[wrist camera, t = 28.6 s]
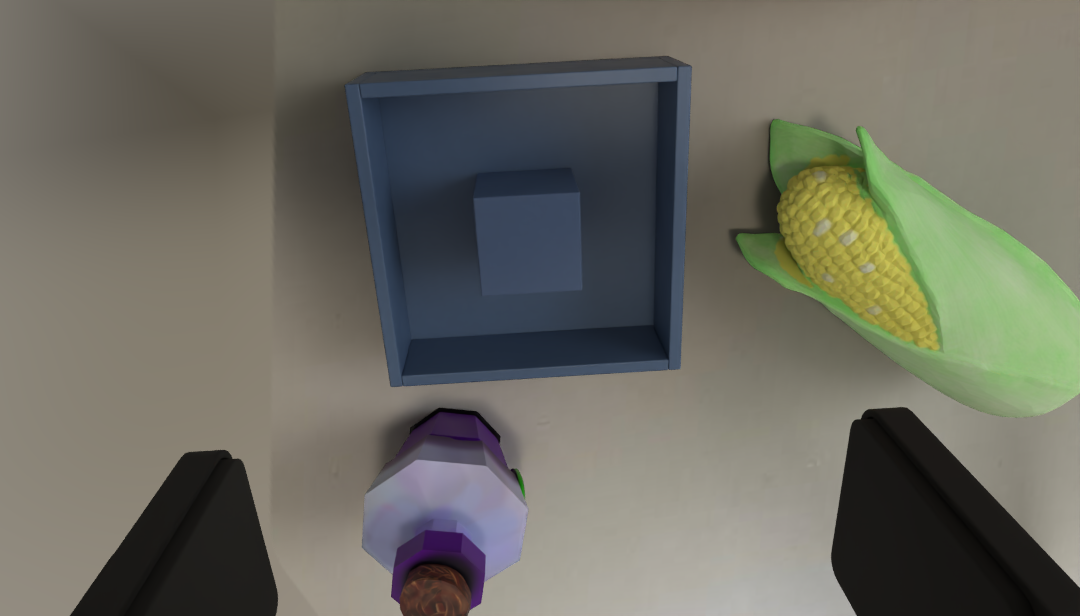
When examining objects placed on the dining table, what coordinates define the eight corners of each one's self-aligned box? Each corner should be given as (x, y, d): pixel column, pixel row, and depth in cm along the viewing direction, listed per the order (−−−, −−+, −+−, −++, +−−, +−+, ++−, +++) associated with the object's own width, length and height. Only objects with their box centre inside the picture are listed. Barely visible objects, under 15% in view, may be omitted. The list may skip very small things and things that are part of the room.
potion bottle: (543, 488, 43) (555, 657, 32) (407, 520, 44) (374, 696, 33) (505, 367, 40) (504, 511, 29) (357, 403, 40) (302, 558, 29)
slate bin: (403, 344, 39) (390, 387, 35) (364, 72, 33) (343, 84, 29) (662, 328, 39) (680, 369, 35) (669, 55, 33) (692, 65, 29)
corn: (982, 473, 38) (690, 277, 33) (975, 352, 43) (718, 164, 38) (1162, 432, 32) (831, 181, 27) (1131, 294, 36) (845, 59, 31)
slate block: (484, 261, 37) (481, 296, 32) (476, 172, 35) (472, 198, 31) (574, 256, 37) (582, 291, 33) (571, 167, 35) (579, 192, 31)
